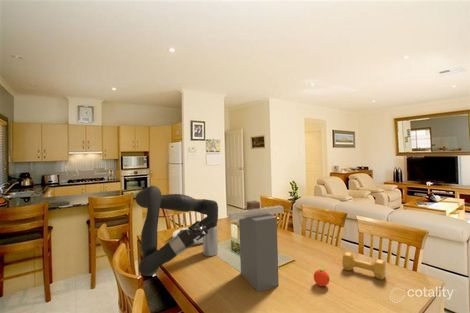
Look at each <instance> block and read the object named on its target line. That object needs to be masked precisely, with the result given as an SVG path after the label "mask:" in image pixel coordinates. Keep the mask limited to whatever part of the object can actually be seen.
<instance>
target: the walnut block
mask: <svg viewBox="0 0 470 313" xmlns="http://www.w3.org/2000/svg"><path fill="white" fill-rule="evenodd" d="M257 208H261V202H260V201H258V200H248V201H246V210H250V209H257Z"/></svg>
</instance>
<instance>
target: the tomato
mask: <svg viewBox="0 0 470 313" xmlns="http://www.w3.org/2000/svg"><path fill="white" fill-rule="evenodd" d="M313 280H314V282H315V284H316V285H318V286H320V287H325V286H327V285H328V284H329V282H330V276H329V273H328V272H327V271H326V270H325V269H324V268H320V269H317V270H315V272H314V274H313Z"/></svg>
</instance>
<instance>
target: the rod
mask: <svg viewBox="0 0 470 313" xmlns="http://www.w3.org/2000/svg"><path fill="white" fill-rule="evenodd" d="M283 213H284V206H282V205H280V204H279V205H273V206H266V207H260V208H257V209H250V210H247V209H243V210H238V211H230V212H229V211H228V213H227V214H228V220H230V221H237V220H238V221H239V219H245V218H252V217H258V216H265V215H277V214H283Z"/></svg>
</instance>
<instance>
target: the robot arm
mask: <svg viewBox="0 0 470 313" xmlns="http://www.w3.org/2000/svg"><path fill="white" fill-rule="evenodd" d="M135 202H136V204H137V206H139V207H141V208H144V209H146V210H147V211H146V217H145V220H144V223H143V225H142V229H141V235H140V251H141V252H142V260H140V262H139V264H138V271H139V273H140V274H141V275H143V276H147V277H149V276H154V275H155V274H156V273H157V272H158V269H159V268H161V266H163V265H164V264H166V263H169V262H170V261H172V260H173V259H174V258H176V257H177V256H179V255H180V254H182V253H183V252H185V251H186V250H187V249H188V248H190V247H191V246H193V245H192V244H194V239H195V238H196V240H197V241H198V240H199V239H201V238H202V237H203V243H202V254H203V255H204V256H205V257H215V256H216V255H218V254H219V248H218V244H219V243H218V221H219V205H218V203H217V201H216V200H213V199H202V198H201V199H199V198H198V199H197V198H194V197H192V196H190V195H187V194H182V193H181V194H180V193H170V194H169V193H167V194H162V191H161V188H159V187H157V186H156V185H151V186H147V187H145V188H143V189H141V190H140V191H139V192H137V194H136V195H135ZM161 209H164V210H169V211H176V212H180V213H181V212H182V213H186V212H195V213H198V214H199V213H200V214H202V215H206V216H205V217H204V218H203V219H201V220H197V221H195V222H194V223H193V224H192V225H189V226H190V227H189V226H188V227H189V228H188V229H189V231H187V230H186V229H185V230H184V231H182V232H181V233H180V234H178V235H177V236H175V237H174V238H173V237H172V238H171V239H170V240H169V241H168V242H167V243H165V244H164V245H162V246H161V247H160V248H159V249H158V228H159V226H158V224H159V217H160V210H161Z"/></svg>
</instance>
